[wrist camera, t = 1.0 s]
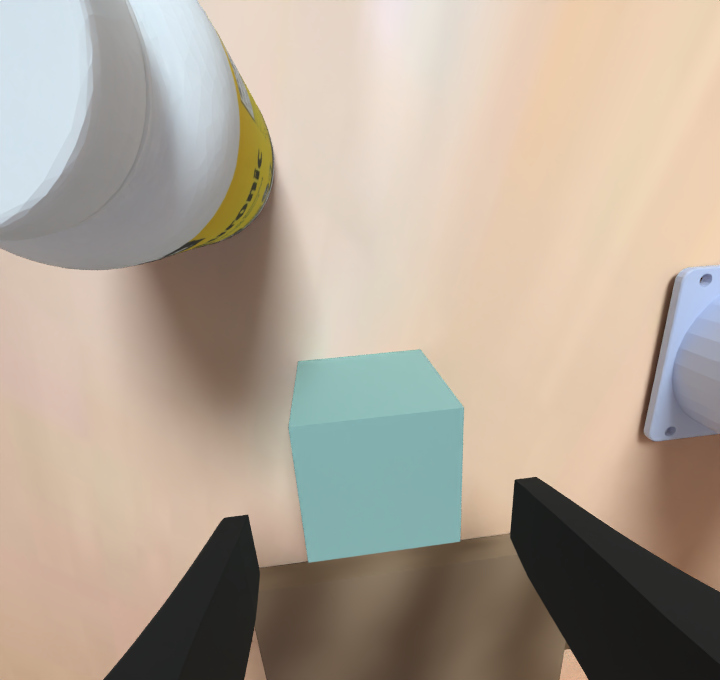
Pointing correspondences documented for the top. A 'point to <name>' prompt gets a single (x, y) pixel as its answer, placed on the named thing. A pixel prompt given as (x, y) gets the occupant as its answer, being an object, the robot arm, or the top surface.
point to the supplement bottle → (123, 133)
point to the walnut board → (408, 617)
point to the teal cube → (376, 454)
